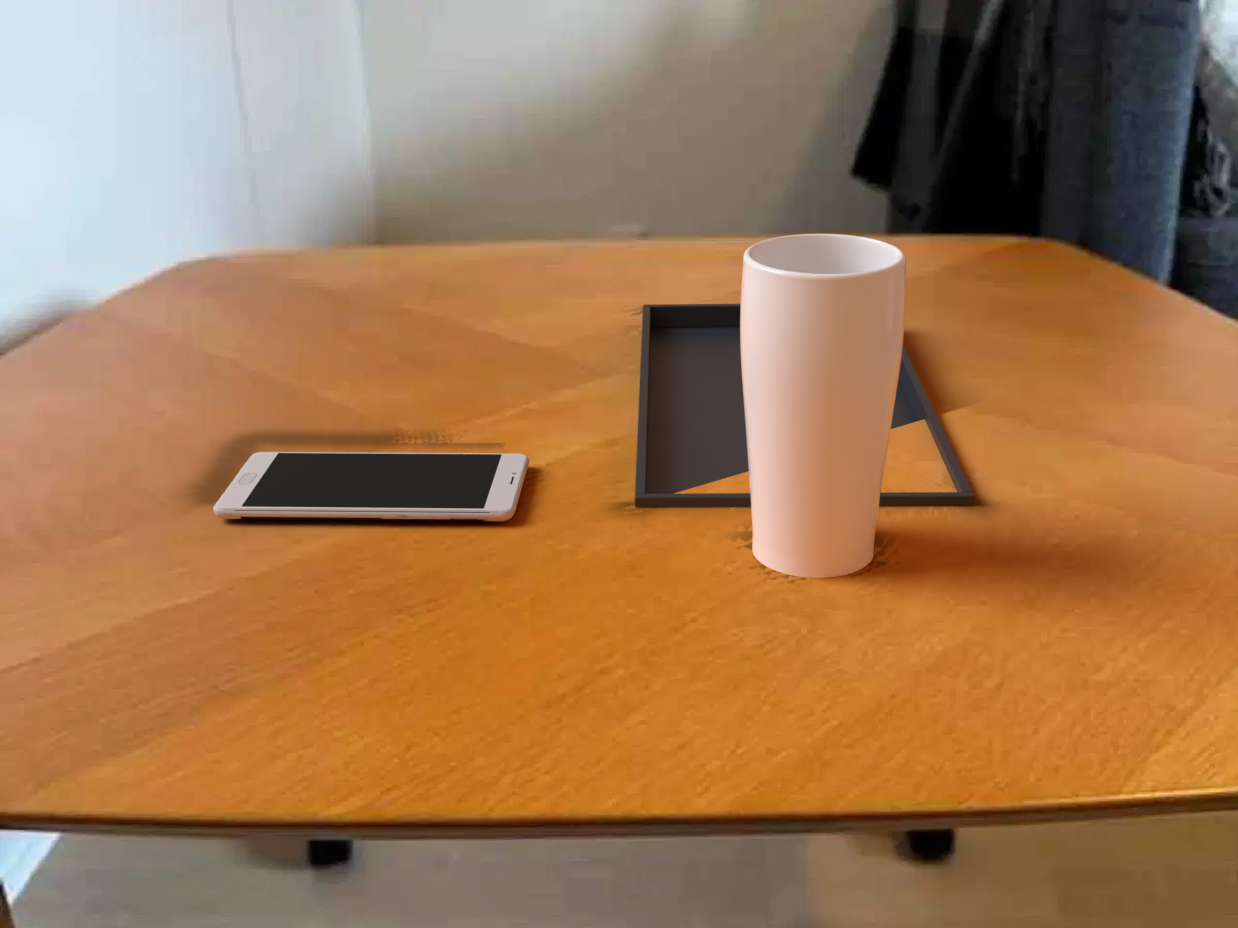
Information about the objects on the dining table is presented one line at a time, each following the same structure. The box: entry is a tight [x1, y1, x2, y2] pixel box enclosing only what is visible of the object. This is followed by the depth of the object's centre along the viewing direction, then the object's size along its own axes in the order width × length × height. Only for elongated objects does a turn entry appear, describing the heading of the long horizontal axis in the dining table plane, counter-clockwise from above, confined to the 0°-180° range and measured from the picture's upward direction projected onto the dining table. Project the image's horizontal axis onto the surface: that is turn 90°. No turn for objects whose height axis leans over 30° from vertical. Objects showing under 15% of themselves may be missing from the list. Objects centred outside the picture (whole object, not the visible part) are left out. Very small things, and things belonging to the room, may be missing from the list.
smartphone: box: [212, 451, 530, 522], centre depth 75 cm, size 8×1×15 cm
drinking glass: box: [740, 233, 907, 579], centre depth 63 cm, size 7×7×15 cm
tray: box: [634, 303, 975, 509], centre depth 84 cm, size 31×16×2 cm, turn 178°
